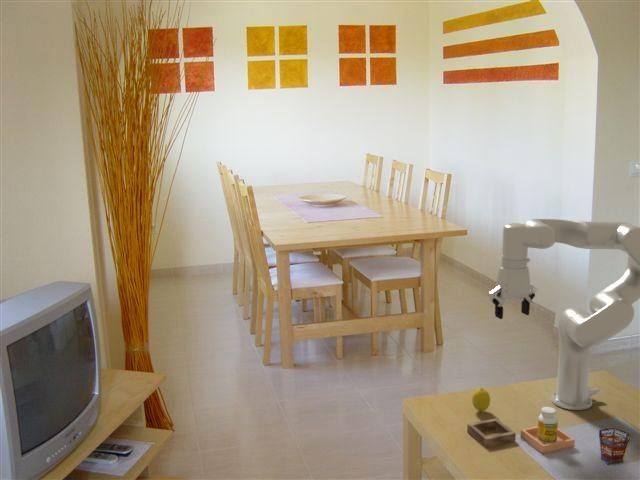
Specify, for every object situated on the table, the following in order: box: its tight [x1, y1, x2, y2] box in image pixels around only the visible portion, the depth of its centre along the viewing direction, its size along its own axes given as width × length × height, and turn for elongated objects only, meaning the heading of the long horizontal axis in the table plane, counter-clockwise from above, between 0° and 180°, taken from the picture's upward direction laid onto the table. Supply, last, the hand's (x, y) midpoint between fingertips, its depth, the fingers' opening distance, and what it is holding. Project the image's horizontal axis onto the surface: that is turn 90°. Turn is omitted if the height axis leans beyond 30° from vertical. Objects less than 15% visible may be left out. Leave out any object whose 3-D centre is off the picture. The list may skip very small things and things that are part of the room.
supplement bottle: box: [537, 406, 559, 444], centre depth 201 cm, size 5×5×10 cm
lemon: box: [471, 387, 491, 413], centre depth 221 cm, size 6×6×8 cm
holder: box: [466, 418, 517, 448], centre depth 205 cm, size 10×10×2 cm
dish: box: [520, 425, 575, 455], centre depth 201 cm, size 11×11×2 cm
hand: (512, 315), depth 220 cm, fingers open, 9 cm apart
